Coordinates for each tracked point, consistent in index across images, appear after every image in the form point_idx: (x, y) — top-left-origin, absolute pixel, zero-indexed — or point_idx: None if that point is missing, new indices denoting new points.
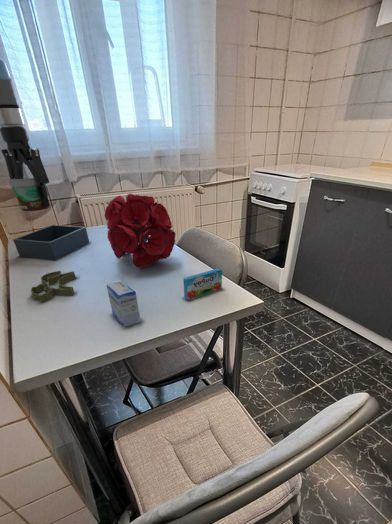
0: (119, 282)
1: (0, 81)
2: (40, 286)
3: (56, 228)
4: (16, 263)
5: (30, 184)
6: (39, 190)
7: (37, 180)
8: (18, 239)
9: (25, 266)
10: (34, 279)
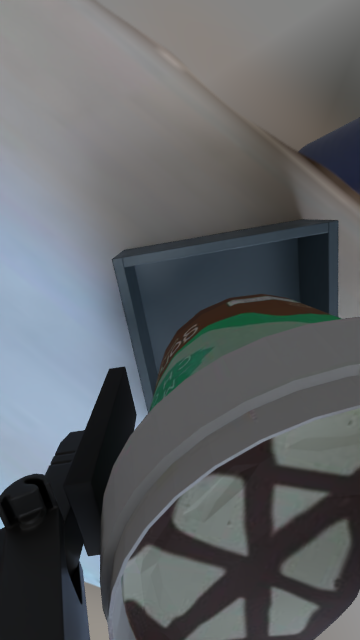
0: None
1: None
2: None
3: None
4: (246, 154)
5: (120, 463)
6: (76, 453)
7: (20, 566)
8: (309, 232)
9: (179, 146)
10: (12, 54)
